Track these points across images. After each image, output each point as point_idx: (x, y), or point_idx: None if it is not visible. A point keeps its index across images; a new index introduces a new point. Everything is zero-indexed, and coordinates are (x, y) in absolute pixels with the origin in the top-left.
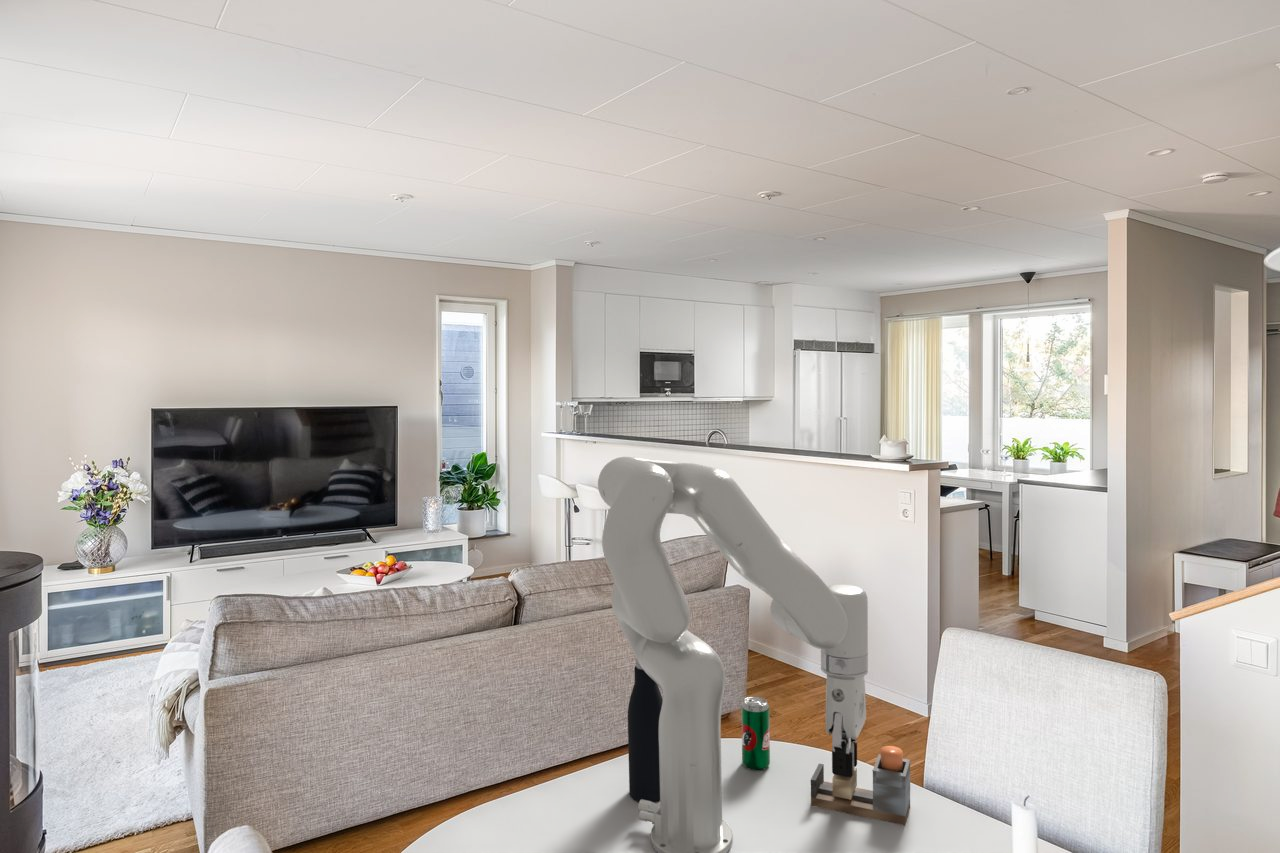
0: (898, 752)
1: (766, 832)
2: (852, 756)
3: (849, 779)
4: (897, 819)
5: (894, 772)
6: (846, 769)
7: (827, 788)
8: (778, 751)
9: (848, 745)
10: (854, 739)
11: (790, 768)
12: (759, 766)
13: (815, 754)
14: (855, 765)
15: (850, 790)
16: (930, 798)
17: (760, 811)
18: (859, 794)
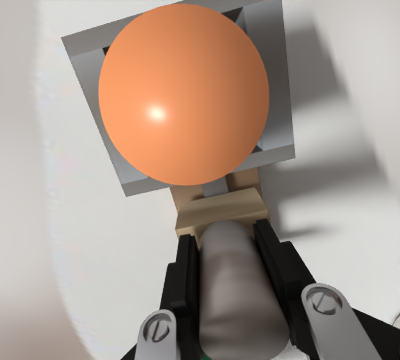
0: (182, 42)
1: (388, 261)
2: (245, 266)
3: (256, 218)
4: None
5: (263, 55)
6: (284, 245)
7: None
8: (122, 349)
9: (366, 339)
10: (175, 325)
11: None
12: (205, 353)
13: (83, 309)
14: (193, 236)
15: (260, 198)
16: (56, 38)
17: None
18: (215, 181)
